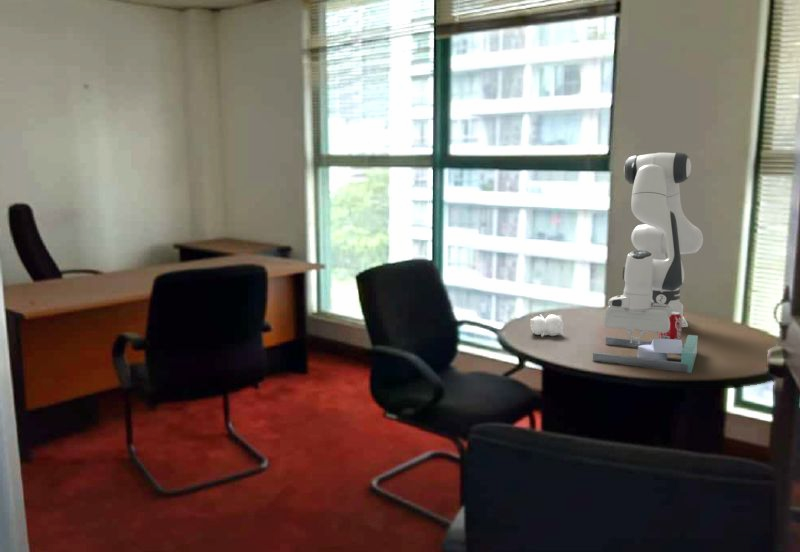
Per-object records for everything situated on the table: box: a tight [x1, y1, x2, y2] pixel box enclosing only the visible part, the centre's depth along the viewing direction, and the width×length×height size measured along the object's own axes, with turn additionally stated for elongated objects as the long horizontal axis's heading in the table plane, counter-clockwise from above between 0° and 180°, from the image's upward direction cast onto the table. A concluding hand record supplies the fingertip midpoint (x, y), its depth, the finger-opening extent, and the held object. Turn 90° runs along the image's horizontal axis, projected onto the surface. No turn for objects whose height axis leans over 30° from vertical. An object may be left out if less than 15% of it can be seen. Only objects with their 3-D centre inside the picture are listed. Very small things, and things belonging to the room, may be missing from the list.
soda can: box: [658, 310, 683, 340], centre depth 229 cm, size 7×7×12 cm
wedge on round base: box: [637, 337, 683, 361], centre depth 215 cm, size 9×7×13 cm
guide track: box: [592, 334, 699, 374], centre depth 217 cm, size 23×29×6 cm
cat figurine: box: [529, 314, 565, 338], centre depth 247 cm, size 9×11×12 cm
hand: (635, 343), depth 218 cm, fingers closed
